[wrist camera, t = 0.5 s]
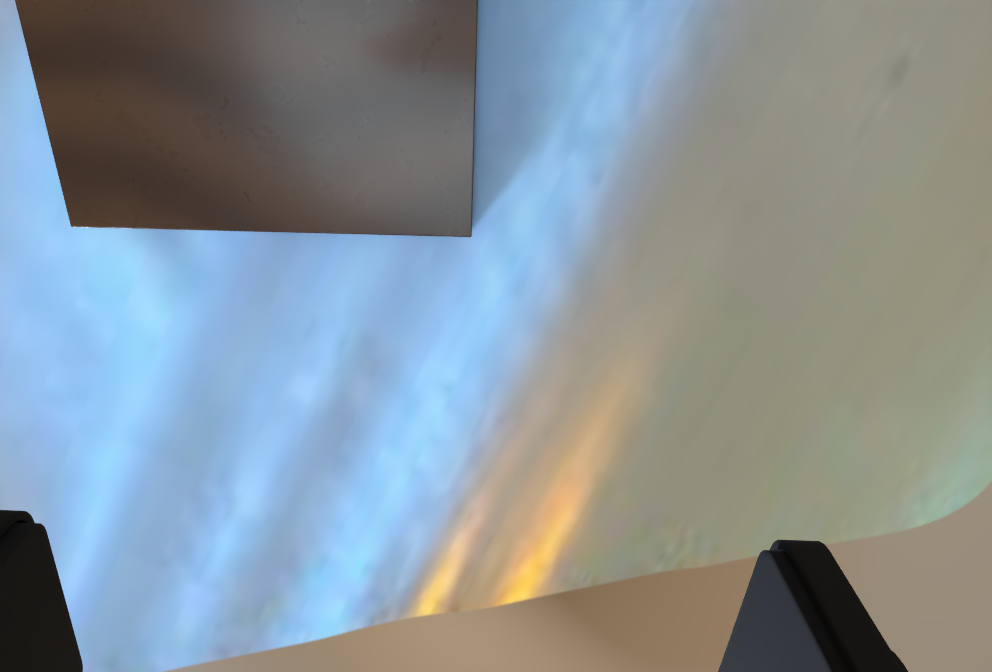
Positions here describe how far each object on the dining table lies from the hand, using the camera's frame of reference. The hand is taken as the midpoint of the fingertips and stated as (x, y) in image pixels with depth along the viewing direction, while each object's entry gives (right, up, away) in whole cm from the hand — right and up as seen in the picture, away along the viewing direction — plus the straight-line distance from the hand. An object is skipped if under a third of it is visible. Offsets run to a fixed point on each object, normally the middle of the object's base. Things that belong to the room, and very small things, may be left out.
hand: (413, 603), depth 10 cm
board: (-10, +16, +24) cm, 30 cm away
